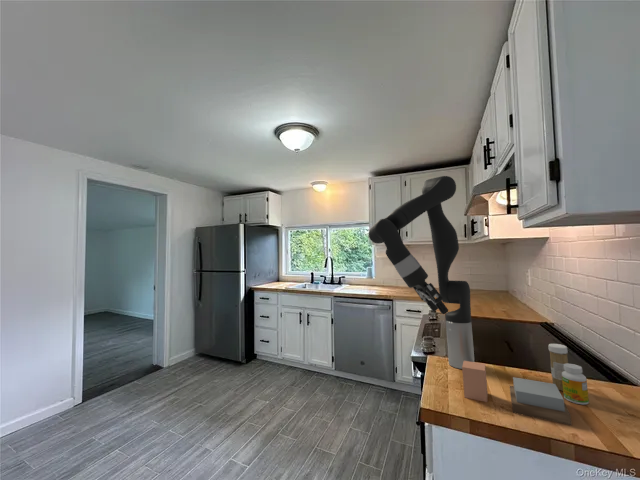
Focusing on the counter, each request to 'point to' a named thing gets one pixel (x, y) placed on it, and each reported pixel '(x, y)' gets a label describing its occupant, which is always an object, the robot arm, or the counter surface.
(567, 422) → the walnut slab
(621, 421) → the counter surface
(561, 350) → the sprinkles bottle
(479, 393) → the terracotta block
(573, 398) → the supplement bottle
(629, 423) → the counter surface
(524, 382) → the grey slab
